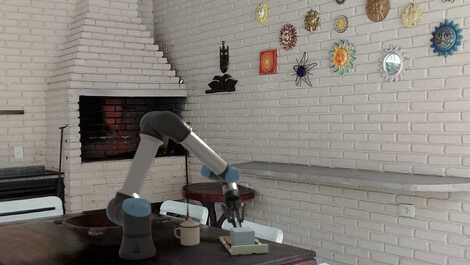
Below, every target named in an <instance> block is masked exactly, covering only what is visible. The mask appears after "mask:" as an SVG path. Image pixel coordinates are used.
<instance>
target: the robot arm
mask: <svg viewBox="0 0 470 265" xmlns="http://www.w3.org/2000/svg"><path fill="white" fill-rule="evenodd" d="M139 124H140V125H139V128H140V133H139V137H140V141H139V145H138V147H137V150H136V152H135V154H134V157H133V159H132V162H131V164H130V166H129V170H128V172H127V175H126V177H125V179H124V183H123V185H122V188H120V189H118V190H117V191H116V193H115V195H114V197H113V198H111V199H110V200H109V201H108V203H107V205H106V208H105V209H106V215H107V218H108V220H110V221H111V222H112V223H113V224H114V225H118V226H122V241H121V244H120V248H119V251H118V257H119V258H121V259H124V260H129V261H130V260H131V261H133V260H134V261H137V260H144V259H150V258H153V257H154V256H156V246H155V243H154V241H153V238H152V206H151V202H150V201H149V200H148V199H146V198H142V197H141V194H142V191H143V188H144V185H145V183H146V180H147V178H148V176H149V173H150V170H151V168H152V165H153V162H154V160H155V157H156V155H157V152H158V149H159V147H160V146H161V145H164V143H165V140H166V138H168V139H170V140H172V141H174V143H176V144H180V145H181V146H183V147H184V148H185V149H186V150H187V151H188V152H190V153H191V154H192V155H193V156H194V157H196V158H197V160H199V162H201V163H202V164H203V165H202V167H201V170H200V174H201V176H202V177H203V178H205V179H207V180H211V181H213V182H216V183H218V184H221V188H222V193H223V199H224V204H220V210H221V211H222V212H223V214H224V216H225V219H226V221H227V223H228V224H231V225H232V228H238V227H243V226H242V225H243V224H242V223H244V222H245V214H246V208H247V203H245V202H244V203H243V202H242V200H241V199H240V194H239V188H238V184H237V182H238V181H239V180H240V177H241V172H240V171H239V169H238V168H237V167H234V166H230V164H228V162H226V161H225V160H224V159H223V158H222V157H220V156H219V154H217V153H216V152H215V151H214V150H213V149H212V148H211V147H210V146H208V144H207V143H206V142H204V141H203V140H202V139H201V138H200V137H199V136H198V135H197V134H196V133H195V132H193V130H192V126H190V125H189V124H188V123H187V122H186V121H185V120H183V118H182V117H180V116H179V115H177V114H176V113H174V112H173V111H169V110H163V111H161V110H158V111H157V110H154V111H150V112H148V113H147V112H146V113H145V114H144V115H143V116H142V117H141V120H140V123H139ZM240 207H241V216H240V211H239V210H240ZM228 210H229V211H228Z"/></svg>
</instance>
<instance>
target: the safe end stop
mask: <svg viewBox="0 0 470 265" xmlns="http://www.w3.org/2000/svg"><path fill="white" fill-rule="evenodd" d="M230 248H231V254H230V255H231V256H240V255H239V254H241V255H252V253H256V254H265V253H266V254H268V253H269V244H268V243H261V244H255V245H242V246H232V245H231V246H230Z"/></svg>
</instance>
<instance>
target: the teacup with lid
mask: <svg viewBox="0 0 470 265" xmlns="http://www.w3.org/2000/svg"><path fill="white" fill-rule="evenodd" d="M177 227H178V226H177ZM200 227H201V224H200V223H199V222H197V221H195V220H193V218H191V217H190V218H188V220H187V221H185V220H184V222H181V223H180V224H179V227H178V228H176V227H175V228H174V231H173V232H174V234H173V235H174V236H175V237H176V238H177V239H180V244H181V245H183V246H187V247H188V246H189V247H190V246H198V245H199V244H200ZM177 230H180V235H178V234H177Z"/></svg>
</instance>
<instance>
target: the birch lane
mask: <svg viewBox="0 0 470 265" xmlns="http://www.w3.org/2000/svg"><path fill="white" fill-rule="evenodd" d="M218 239H220V240H219V241H220V242H221V243H222V245H223V246H224V248H226V250H227V251H228V252H229V253H230V255H231V246H230V245H229V243H227V242H226V240H225V239H230V235H224V236H223V235H221V236H218ZM255 242H256V243H257V244H262V243H261V242H260V241H259V240H258V239H257V238H256V237H255ZM256 243H255V244H256ZM257 244H256V245H257Z"/></svg>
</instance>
